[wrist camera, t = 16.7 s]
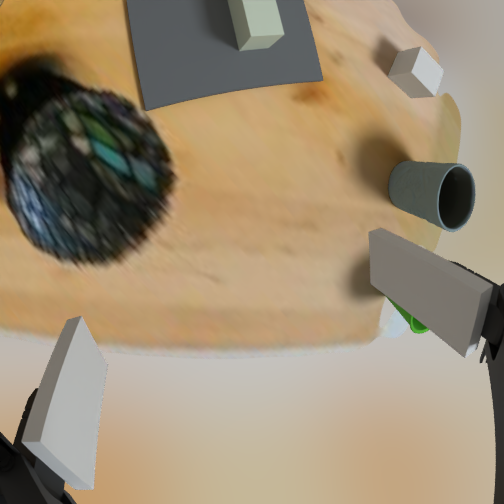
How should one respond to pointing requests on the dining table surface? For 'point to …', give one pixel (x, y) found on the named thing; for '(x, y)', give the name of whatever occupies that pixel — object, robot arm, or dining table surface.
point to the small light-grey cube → (416, 73)
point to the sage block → (255, 23)
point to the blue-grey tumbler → (434, 192)
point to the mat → (214, 50)
